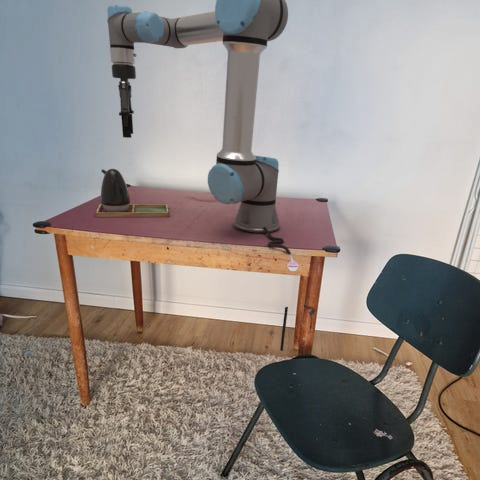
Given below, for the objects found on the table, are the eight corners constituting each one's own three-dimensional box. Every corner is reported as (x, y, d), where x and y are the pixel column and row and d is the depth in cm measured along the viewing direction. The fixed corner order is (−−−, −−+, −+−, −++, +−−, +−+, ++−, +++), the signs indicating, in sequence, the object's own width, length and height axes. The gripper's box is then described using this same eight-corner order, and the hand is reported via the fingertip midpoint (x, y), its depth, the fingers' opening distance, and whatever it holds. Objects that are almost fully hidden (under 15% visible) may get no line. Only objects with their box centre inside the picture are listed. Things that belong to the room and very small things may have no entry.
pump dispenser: (116, 207, 159) (112, 165, 152) (136, 212, 154) (133, 168, 147) (95, 212, 151) (90, 168, 144) (116, 217, 146) (112, 172, 139)
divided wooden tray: (168, 216, 150) (168, 212, 150) (96, 216, 146) (95, 212, 145) (167, 208, 162) (167, 204, 161) (100, 208, 157) (99, 204, 156)
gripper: (133, 63, 126) (138, 139, 136) (136, 67, 147) (140, 132, 158) (107, 61, 125) (114, 138, 135) (114, 65, 146) (119, 131, 156)
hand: (128, 135), depth 146 cm, fingers open, 13 cm apart
